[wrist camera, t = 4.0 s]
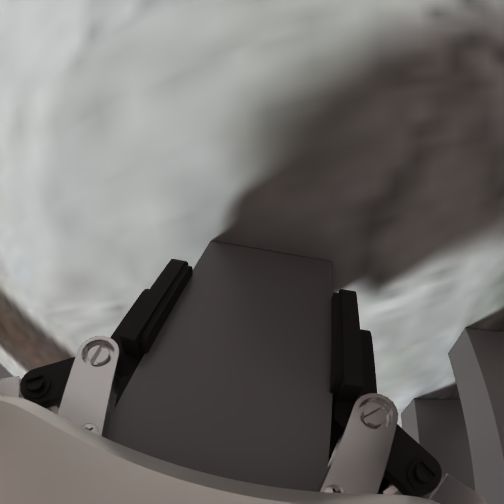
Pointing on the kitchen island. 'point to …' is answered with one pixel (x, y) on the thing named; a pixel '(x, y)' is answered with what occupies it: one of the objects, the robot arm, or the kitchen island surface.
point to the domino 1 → (239, 372)
